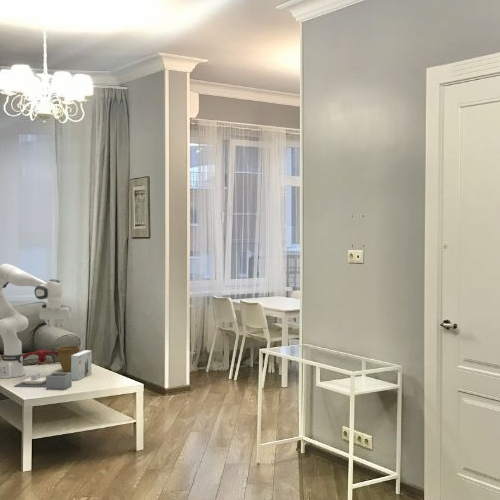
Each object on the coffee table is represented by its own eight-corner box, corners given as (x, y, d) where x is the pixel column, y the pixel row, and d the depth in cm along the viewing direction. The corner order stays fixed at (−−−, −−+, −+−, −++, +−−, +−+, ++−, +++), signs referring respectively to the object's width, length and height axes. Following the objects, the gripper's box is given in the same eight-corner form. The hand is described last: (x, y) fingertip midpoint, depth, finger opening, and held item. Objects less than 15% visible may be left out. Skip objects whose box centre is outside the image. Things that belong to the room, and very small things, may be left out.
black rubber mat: (13, 386, 433) (13, 385, 433) (27, 380, 450) (27, 379, 450) (45, 387, 430) (44, 386, 430) (56, 381, 448) (56, 380, 448)
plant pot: (82, 371, 477) (82, 348, 476) (60, 373, 470) (59, 349, 470) (77, 367, 490) (77, 344, 490) (55, 369, 483) (55, 346, 483)
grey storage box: (46, 389, 425) (46, 376, 424) (53, 385, 434) (52, 372, 434) (65, 389, 423) (65, 376, 423) (71, 386, 433) (71, 373, 433)
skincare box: (78, 380, 449) (78, 355, 449) (70, 380, 450) (70, 355, 450) (92, 373, 470) (92, 349, 469) (84, 373, 471) (84, 349, 470)
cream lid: (22, 384, 436) (22, 375, 436) (29, 381, 446) (29, 372, 446) (41, 385, 434) (41, 376, 434) (48, 381, 445) (48, 372, 444)
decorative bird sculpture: (21, 370, 504) (20, 357, 494) (22, 360, 510) (20, 347, 500) (62, 368, 511) (62, 355, 500) (62, 358, 517) (62, 345, 507)
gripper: (72, 304, 452) (73, 326, 453) (42, 304, 455) (42, 325, 455) (68, 305, 446) (69, 327, 446) (37, 305, 449) (38, 327, 449)
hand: (55, 326), depth 451 cm, fingers open, 8 cm apart
